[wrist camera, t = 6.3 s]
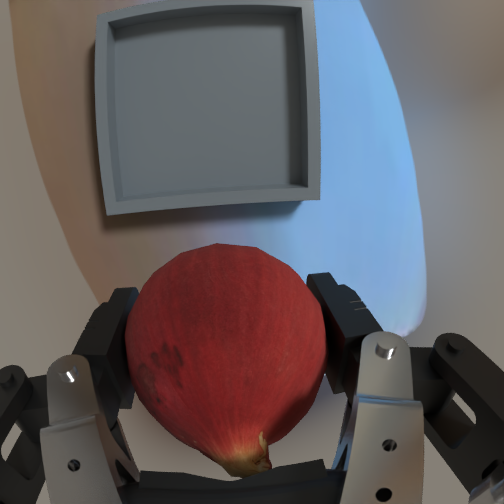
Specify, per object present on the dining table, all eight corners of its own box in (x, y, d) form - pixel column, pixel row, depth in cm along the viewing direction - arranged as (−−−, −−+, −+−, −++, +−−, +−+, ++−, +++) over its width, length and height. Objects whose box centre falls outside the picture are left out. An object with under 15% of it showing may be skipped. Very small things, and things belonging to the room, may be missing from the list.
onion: (181, 351, 13) (171, 518, 6) (127, 239, 11) (27, 412, 4) (306, 318, 13) (372, 481, 6) (277, 192, 11) (390, 341, 3)
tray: (108, 25, 18) (97, 15, 16) (303, 10, 20) (313, -2, 17) (117, 206, 25) (106, 215, 22) (309, 192, 26) (320, 199, 24)
